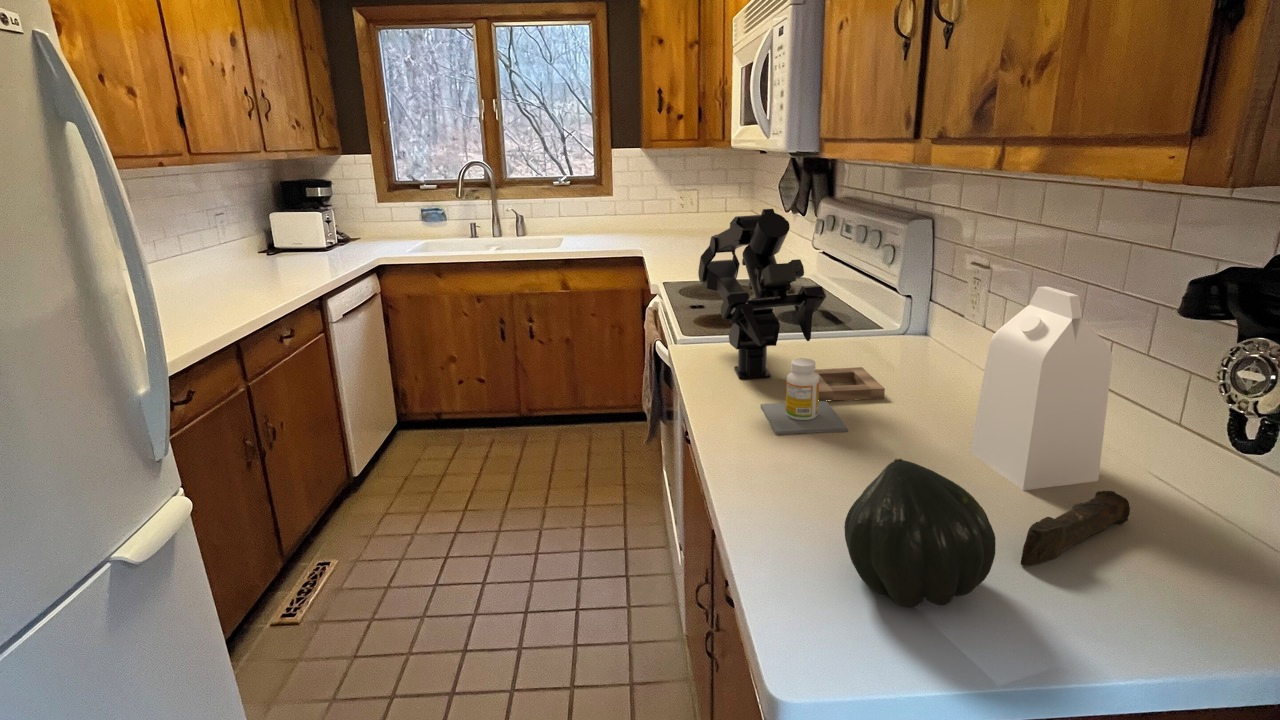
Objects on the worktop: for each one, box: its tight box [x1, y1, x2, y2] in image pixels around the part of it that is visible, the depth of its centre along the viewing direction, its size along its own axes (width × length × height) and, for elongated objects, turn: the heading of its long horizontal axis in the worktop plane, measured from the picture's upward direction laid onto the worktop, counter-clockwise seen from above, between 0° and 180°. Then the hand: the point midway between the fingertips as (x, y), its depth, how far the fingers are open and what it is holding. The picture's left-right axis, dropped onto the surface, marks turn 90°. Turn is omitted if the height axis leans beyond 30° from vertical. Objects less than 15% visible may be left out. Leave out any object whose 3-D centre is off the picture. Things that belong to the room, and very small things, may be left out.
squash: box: [843, 457, 996, 608], centre depth 75 cm, size 14×15×15 cm
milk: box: [969, 285, 1113, 491], centre depth 97 cm, size 12×12×26 cm
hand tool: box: [1020, 490, 1131, 567], centre depth 83 cm, size 19×4×5 cm, turn 118°
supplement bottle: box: [785, 357, 819, 420], centre depth 119 cm, size 5×5×10 cm
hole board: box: [814, 366, 886, 401], centre depth 133 cm, size 12×12×2 cm
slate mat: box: [760, 401, 849, 436], centre depth 120 cm, size 12×12×1 cm
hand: (785, 342), depth 124 cm, fingers open, 9 cm apart
